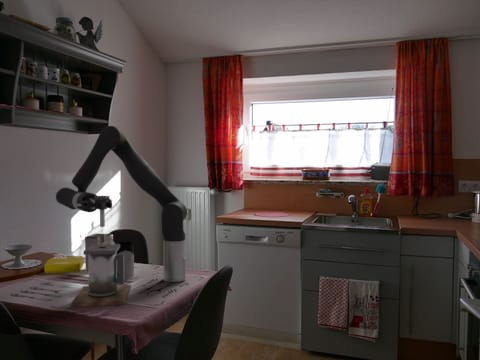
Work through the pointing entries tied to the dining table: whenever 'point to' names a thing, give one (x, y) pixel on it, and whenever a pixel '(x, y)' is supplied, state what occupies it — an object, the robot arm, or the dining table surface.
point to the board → (116, 299)
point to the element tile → (64, 265)
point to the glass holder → (126, 260)
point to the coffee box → (92, 240)
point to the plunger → (104, 206)
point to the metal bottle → (108, 239)
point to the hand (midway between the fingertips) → (105, 205)
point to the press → (104, 269)
